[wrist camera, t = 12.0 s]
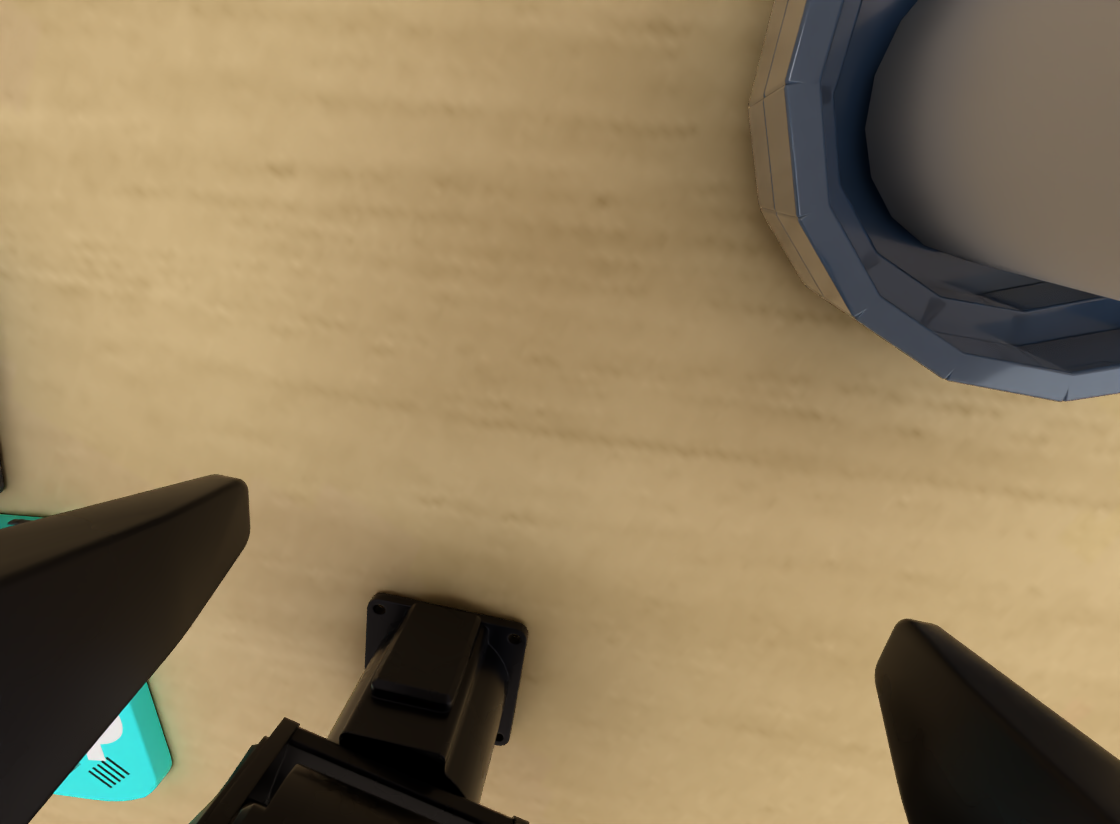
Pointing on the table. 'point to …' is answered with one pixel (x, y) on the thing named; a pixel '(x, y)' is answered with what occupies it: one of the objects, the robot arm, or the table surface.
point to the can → (1005, 135)
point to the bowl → (881, 242)
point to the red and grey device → (1, 480)
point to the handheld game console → (118, 746)
